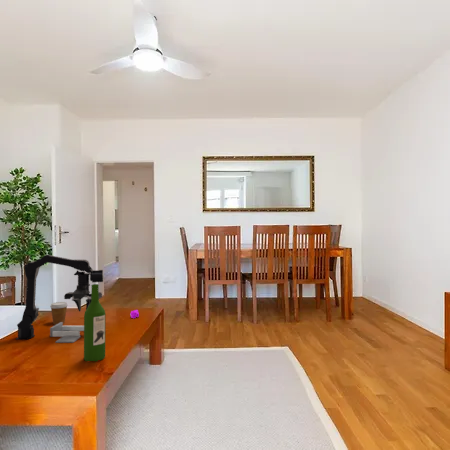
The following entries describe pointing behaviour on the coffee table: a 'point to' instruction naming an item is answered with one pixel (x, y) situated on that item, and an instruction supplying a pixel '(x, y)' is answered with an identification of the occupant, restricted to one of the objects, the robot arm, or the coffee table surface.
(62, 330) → the channel
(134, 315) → the crystal
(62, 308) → the disposable coffee cup
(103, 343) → the wine bottle
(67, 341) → the coaster
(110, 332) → the coffee table surface
